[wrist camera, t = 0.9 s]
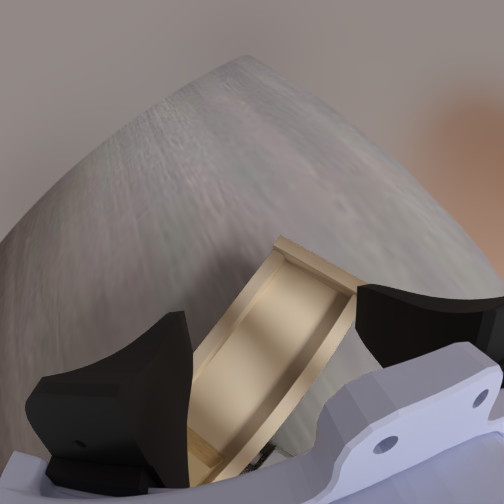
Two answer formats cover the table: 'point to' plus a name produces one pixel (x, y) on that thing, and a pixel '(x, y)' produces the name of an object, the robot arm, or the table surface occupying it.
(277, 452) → the grey rectangular bar
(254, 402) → the beam
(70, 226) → the table surface
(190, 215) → the table surface
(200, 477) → the block
